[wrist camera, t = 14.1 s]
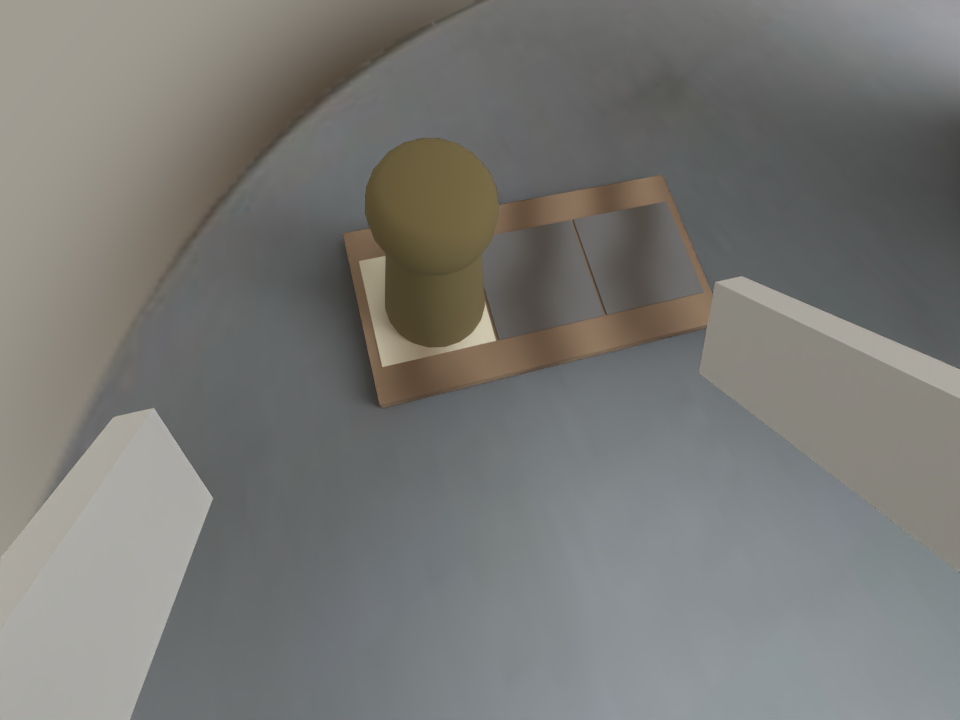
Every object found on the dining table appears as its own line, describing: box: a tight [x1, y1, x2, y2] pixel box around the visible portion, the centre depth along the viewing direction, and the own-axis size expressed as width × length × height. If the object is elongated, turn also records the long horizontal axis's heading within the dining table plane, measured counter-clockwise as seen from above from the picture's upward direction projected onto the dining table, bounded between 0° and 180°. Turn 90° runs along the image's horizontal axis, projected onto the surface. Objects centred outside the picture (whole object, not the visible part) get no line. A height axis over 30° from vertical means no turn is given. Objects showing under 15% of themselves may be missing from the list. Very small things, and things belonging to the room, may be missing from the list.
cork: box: [365, 138, 499, 348], centre depth 20 cm, size 6×6×11 cm
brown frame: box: [343, 175, 713, 408], centre depth 27 cm, size 22×11×1 cm, turn 105°
